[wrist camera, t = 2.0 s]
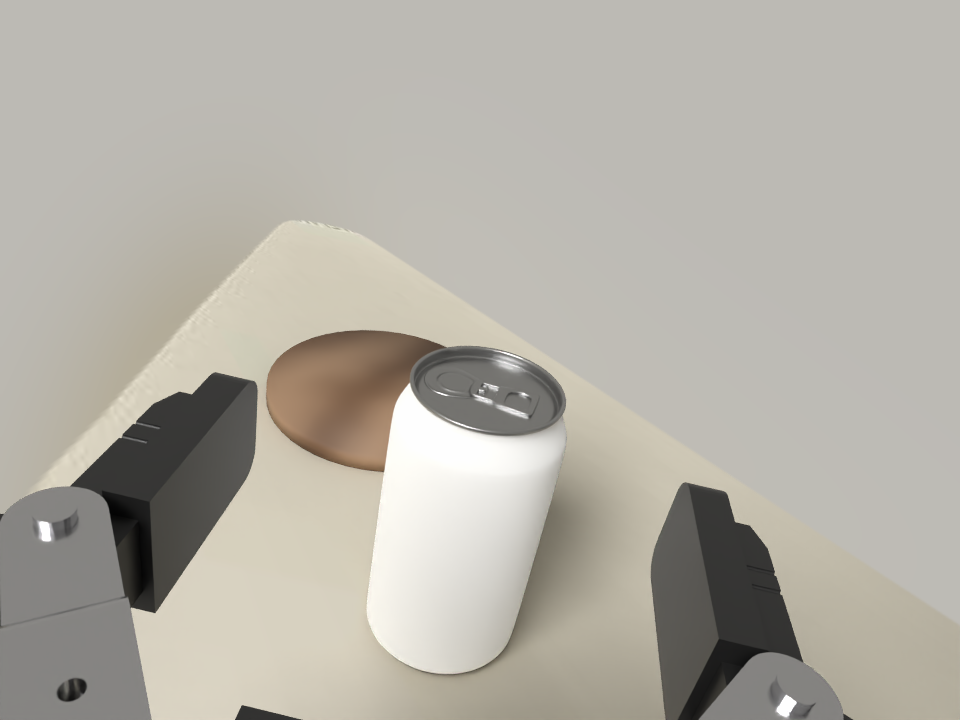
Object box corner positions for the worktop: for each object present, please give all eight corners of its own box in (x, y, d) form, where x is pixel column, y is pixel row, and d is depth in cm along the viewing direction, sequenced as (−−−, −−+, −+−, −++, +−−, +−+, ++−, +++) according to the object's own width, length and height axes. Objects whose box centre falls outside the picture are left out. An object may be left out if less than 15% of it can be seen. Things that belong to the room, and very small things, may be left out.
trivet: (518, 381, 50) (521, 369, 49) (450, 503, 38) (453, 489, 37) (334, 323, 52) (335, 311, 52) (216, 420, 40) (216, 406, 40)
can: (398, 542, 35) (433, 323, 29) (527, 587, 34) (590, 370, 28) (338, 647, 29) (367, 402, 23) (490, 705, 28) (559, 464, 22)
